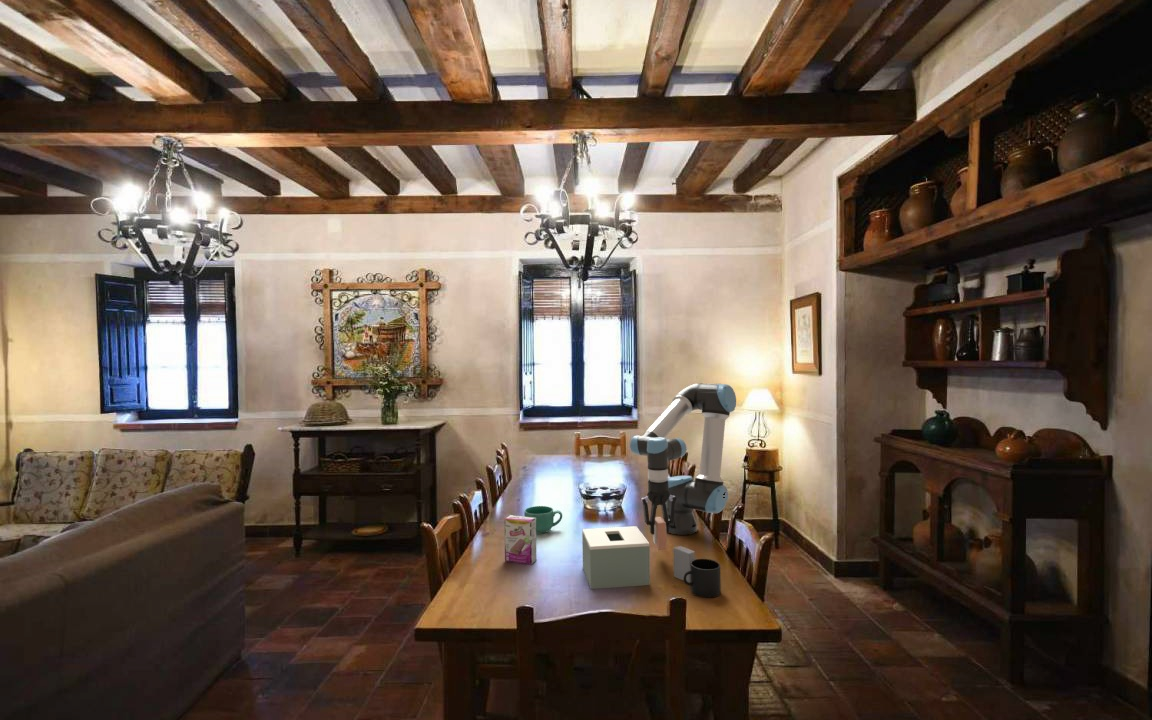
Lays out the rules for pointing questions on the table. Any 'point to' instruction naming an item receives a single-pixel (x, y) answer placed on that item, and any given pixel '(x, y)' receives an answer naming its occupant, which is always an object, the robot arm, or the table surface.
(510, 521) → the candy bar box
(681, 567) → the grey rectangular block
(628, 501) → the table surface
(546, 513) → the mug
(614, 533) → the pale green white box
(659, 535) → the pink rectangular block
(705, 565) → the mug
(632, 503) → the table surface
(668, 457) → the robot arm
